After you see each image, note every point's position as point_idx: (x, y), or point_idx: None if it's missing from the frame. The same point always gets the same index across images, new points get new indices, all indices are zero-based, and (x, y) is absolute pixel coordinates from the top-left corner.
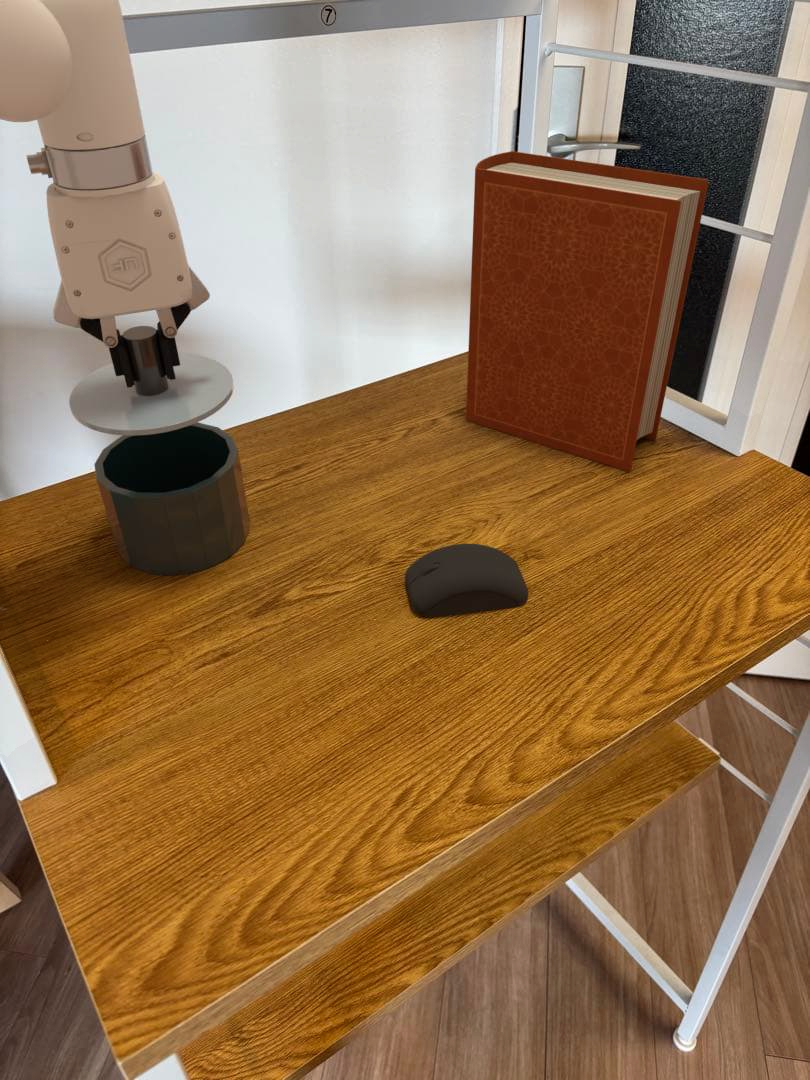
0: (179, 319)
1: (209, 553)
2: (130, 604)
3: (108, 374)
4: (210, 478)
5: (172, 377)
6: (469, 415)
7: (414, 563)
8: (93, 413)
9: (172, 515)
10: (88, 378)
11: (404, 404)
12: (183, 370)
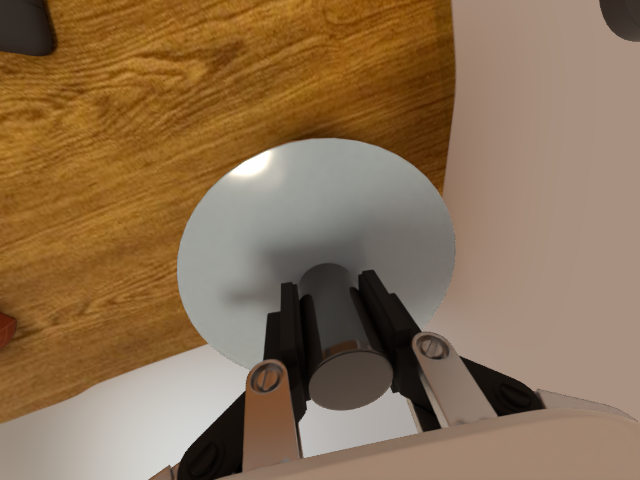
0: (232, 422)
1: (280, 143)
2: (356, 107)
3: None
4: None
5: (286, 283)
6: (3, 322)
7: (14, 31)
8: (426, 226)
9: None
10: None
11: (92, 349)
12: None
